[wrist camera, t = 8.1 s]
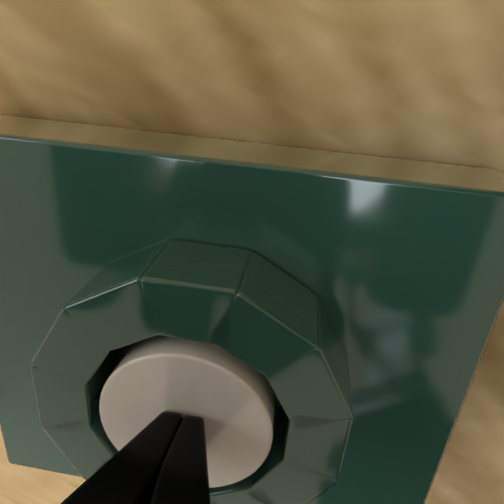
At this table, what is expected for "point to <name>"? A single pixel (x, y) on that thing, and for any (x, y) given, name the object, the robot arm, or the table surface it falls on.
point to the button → (193, 401)
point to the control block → (247, 296)
